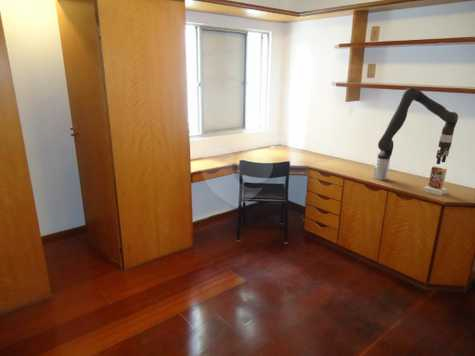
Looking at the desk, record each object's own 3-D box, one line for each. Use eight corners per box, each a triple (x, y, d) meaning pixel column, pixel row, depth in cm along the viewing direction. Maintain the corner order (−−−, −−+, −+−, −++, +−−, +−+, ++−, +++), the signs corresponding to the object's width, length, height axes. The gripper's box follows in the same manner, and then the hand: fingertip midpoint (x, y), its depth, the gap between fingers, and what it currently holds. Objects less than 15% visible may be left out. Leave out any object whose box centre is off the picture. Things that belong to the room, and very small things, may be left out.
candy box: (427, 186, 252) (431, 166, 248) (430, 185, 254) (434, 166, 250) (439, 190, 245) (444, 169, 241) (442, 189, 248) (447, 168, 243)
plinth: (422, 190, 252) (423, 186, 251) (429, 188, 258) (429, 184, 257) (440, 195, 243) (441, 191, 242) (445, 192, 249) (446, 188, 248)
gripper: (444, 139, 246) (439, 160, 251) (435, 140, 238) (430, 163, 243) (455, 140, 241) (450, 162, 246) (447, 142, 232) (441, 165, 237)
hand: (440, 163), depth 244 cm, fingers open, 8 cm apart
